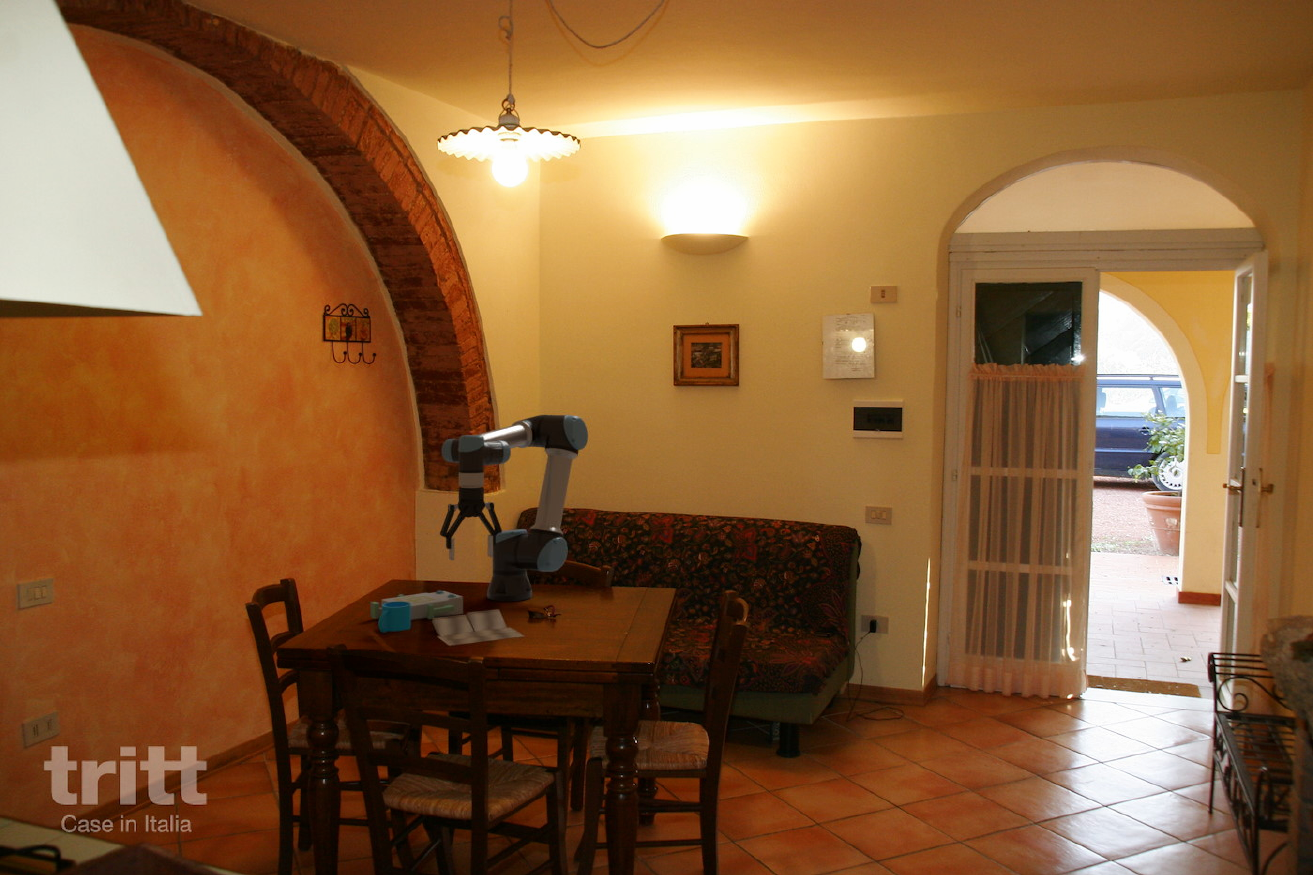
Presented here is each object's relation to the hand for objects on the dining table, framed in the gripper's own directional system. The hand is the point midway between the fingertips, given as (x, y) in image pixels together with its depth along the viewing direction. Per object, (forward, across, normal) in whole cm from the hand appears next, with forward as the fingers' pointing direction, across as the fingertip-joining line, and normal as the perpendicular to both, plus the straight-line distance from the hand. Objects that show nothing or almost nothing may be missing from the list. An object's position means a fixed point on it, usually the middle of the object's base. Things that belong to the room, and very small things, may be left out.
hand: (471, 558), depth 285 cm
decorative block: (+21, +12, -17) cm, 29 cm away
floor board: (+20, +4, +20) cm, 28 cm away
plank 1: (+18, +9, +10) cm, 23 cm away
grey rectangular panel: (+18, -1, +10) cm, 20 cm away
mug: (+20, +24, 0) cm, 31 cm away
